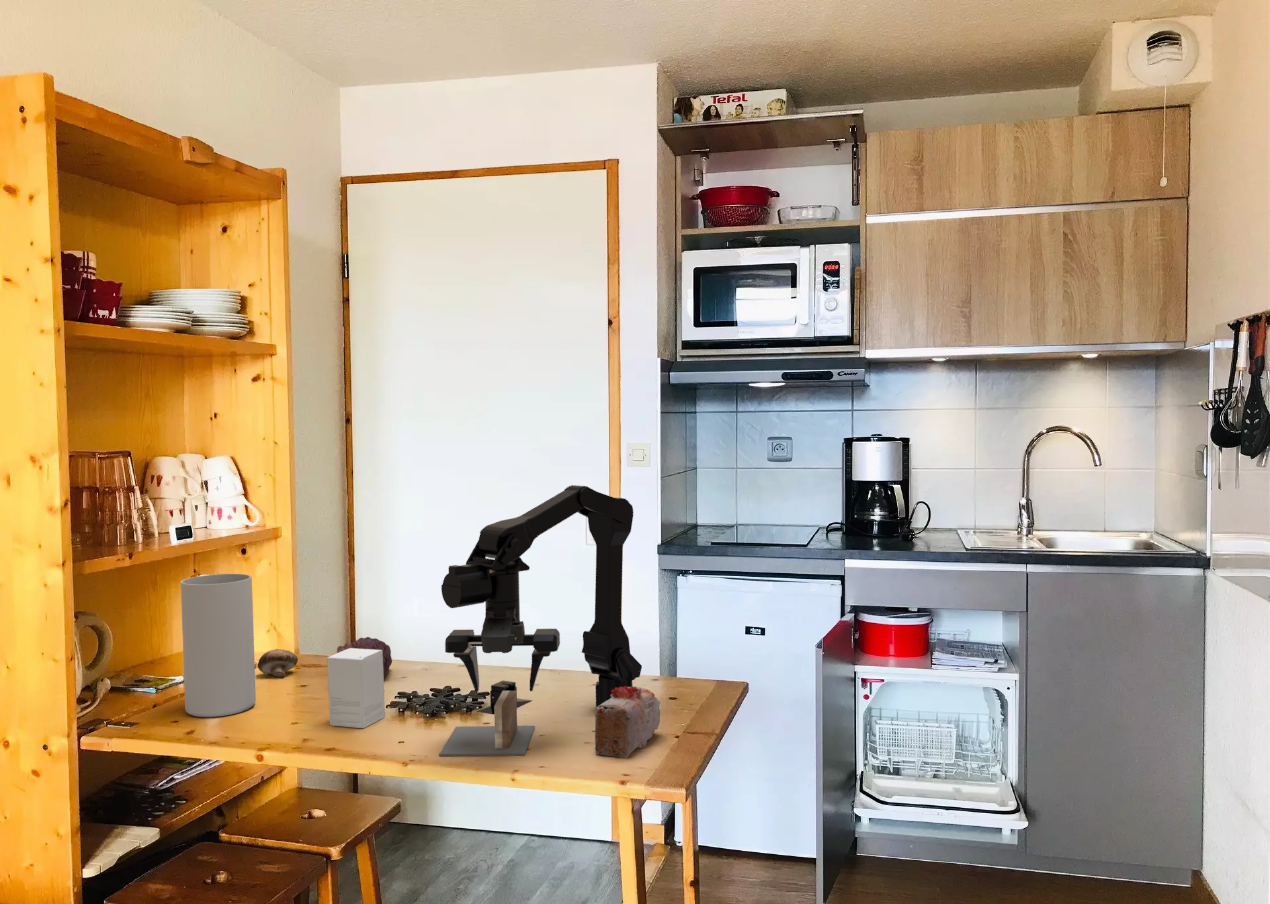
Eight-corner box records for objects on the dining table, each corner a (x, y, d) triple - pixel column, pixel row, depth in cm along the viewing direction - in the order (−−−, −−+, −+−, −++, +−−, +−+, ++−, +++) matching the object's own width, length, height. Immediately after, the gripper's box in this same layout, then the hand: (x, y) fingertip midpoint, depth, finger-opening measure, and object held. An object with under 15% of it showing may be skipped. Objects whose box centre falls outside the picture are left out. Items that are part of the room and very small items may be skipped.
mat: (534, 727, 175) (534, 725, 175) (524, 755, 161) (524, 752, 161) (455, 728, 176) (455, 726, 176) (439, 756, 162) (439, 753, 162)
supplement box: (386, 717, 183) (384, 649, 183) (363, 729, 176) (360, 659, 176) (352, 713, 186) (350, 646, 185) (327, 725, 179) (325, 656, 178)
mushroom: (287, 666, 209) (282, 639, 212) (253, 681, 209) (248, 654, 212) (306, 675, 216) (301, 649, 219) (273, 689, 216) (269, 663, 219)
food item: (620, 729, 174) (619, 674, 173) (663, 734, 171) (662, 677, 171) (590, 755, 161) (589, 695, 161) (636, 760, 158) (635, 699, 158)
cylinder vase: (261, 711, 188) (257, 580, 187) (189, 722, 182) (185, 587, 181) (249, 695, 199) (245, 571, 198) (181, 705, 192) (176, 577, 191)
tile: (517, 730, 173) (516, 690, 173) (509, 747, 164) (508, 706, 164) (503, 730, 173) (502, 690, 173) (495, 747, 164) (494, 706, 164)
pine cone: (363, 667, 219) (387, 629, 219) (394, 694, 215) (418, 655, 215) (313, 665, 203) (339, 624, 203) (345, 694, 199) (372, 652, 199)
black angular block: (500, 721, 181) (499, 695, 181) (465, 716, 185) (465, 690, 185) (539, 701, 193) (538, 676, 193) (506, 697, 196) (505, 673, 196)
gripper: (437, 609, 159) (439, 705, 160) (552, 608, 159) (554, 704, 160) (451, 596, 170) (453, 686, 171) (559, 595, 170) (560, 685, 171)
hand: (504, 690), depth 168 cm, fingers open, 9 cm apart
